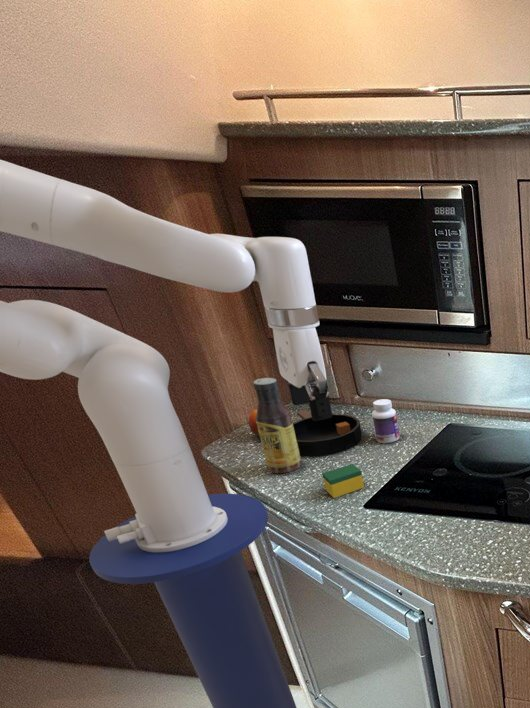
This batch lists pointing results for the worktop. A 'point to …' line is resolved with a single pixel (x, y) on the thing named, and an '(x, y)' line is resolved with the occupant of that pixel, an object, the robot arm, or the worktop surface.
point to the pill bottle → (385, 421)
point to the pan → (325, 434)
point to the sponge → (343, 480)
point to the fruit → (253, 422)
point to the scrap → (343, 428)
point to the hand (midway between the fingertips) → (312, 411)
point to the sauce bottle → (275, 428)
